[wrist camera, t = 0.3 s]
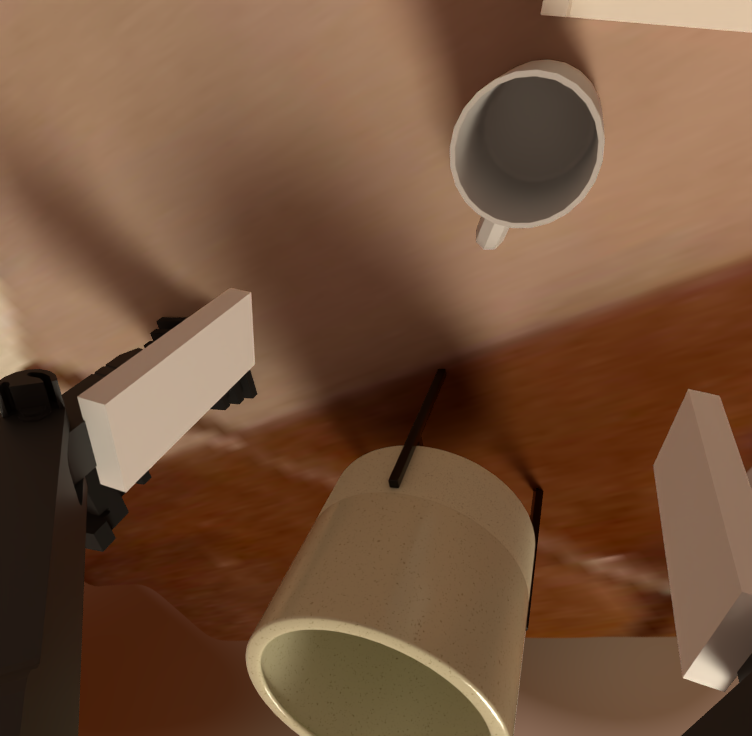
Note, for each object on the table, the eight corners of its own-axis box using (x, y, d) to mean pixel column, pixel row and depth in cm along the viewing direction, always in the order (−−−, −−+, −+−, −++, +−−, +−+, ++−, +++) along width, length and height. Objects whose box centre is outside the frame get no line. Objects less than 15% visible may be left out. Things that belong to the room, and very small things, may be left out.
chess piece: (161, 317, 52) (-33, 451, 36) (234, 317, 49) (59, 462, 33) (188, 389, 56) (23, 539, 40) (257, 393, 53) (110, 556, 37)
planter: (539, 368, 42) (495, 640, 24) (549, 521, 50) (521, 821, 31) (355, 368, 48) (204, 589, 29) (388, 507, 55) (284, 753, 37)
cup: (627, 83, 31) (636, 102, 24) (547, 242, 37) (536, 295, 30) (507, 40, 32) (482, 46, 25) (447, 202, 38) (413, 244, 31)
